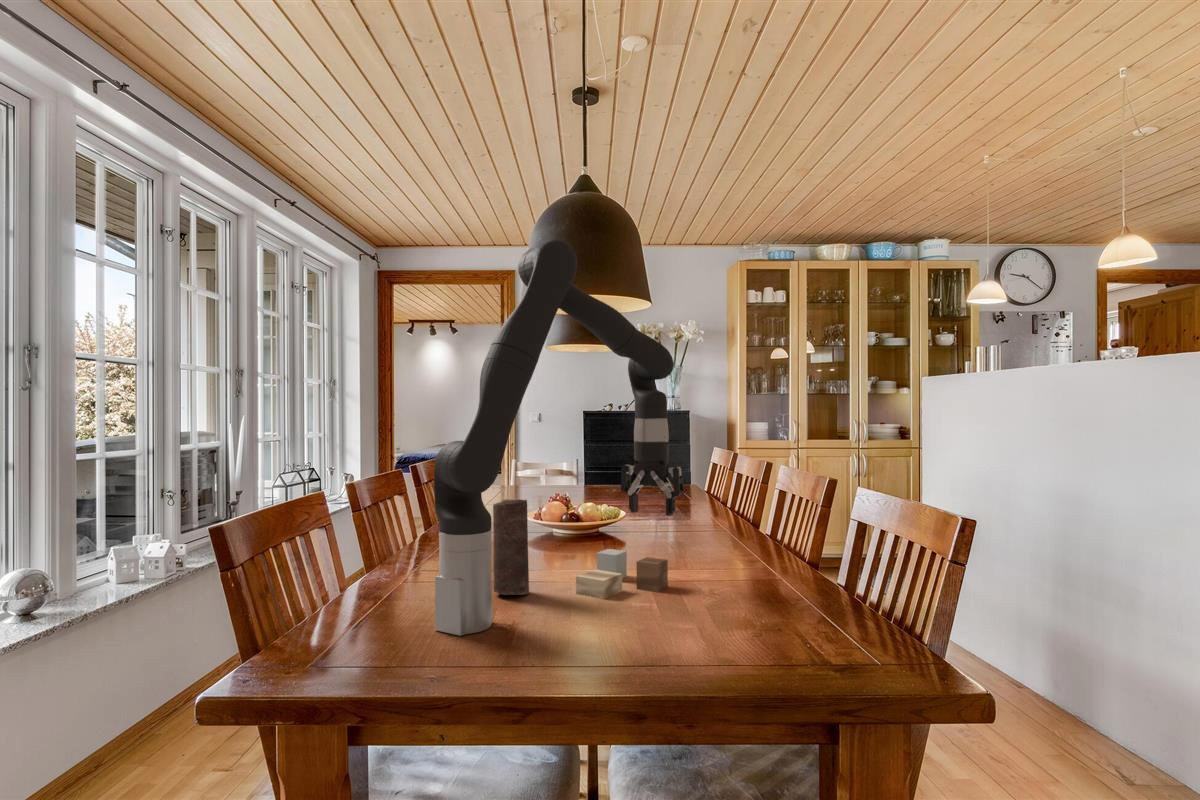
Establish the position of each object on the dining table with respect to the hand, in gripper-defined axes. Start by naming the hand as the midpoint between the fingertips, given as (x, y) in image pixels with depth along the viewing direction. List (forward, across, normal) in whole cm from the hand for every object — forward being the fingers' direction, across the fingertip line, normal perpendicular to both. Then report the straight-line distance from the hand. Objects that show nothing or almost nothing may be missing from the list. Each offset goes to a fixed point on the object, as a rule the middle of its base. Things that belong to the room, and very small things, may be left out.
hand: (651, 513), depth 145 cm
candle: (+16, -23, -20) cm, 35 cm away
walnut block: (+16, 0, 0) cm, 16 cm away
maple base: (+16, -8, -9) cm, 20 cm away
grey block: (+16, -12, +3) cm, 20 cm away
